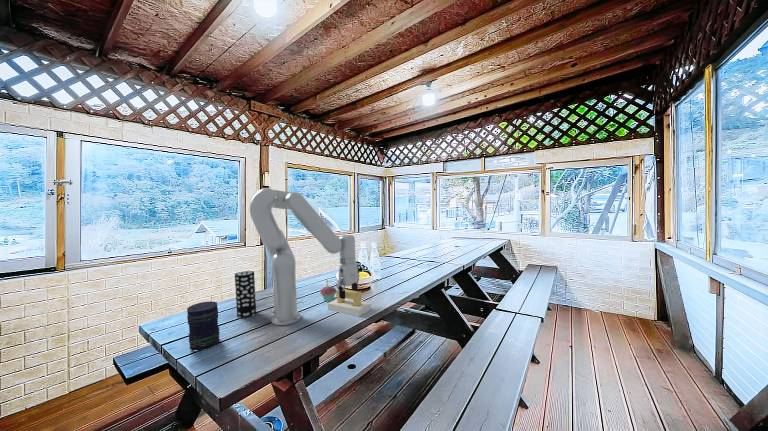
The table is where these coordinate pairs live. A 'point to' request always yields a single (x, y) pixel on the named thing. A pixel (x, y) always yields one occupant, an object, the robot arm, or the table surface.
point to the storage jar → (203, 325)
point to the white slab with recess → (349, 307)
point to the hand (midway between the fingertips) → (348, 295)
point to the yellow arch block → (350, 297)
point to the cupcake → (328, 292)
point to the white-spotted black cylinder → (245, 294)
